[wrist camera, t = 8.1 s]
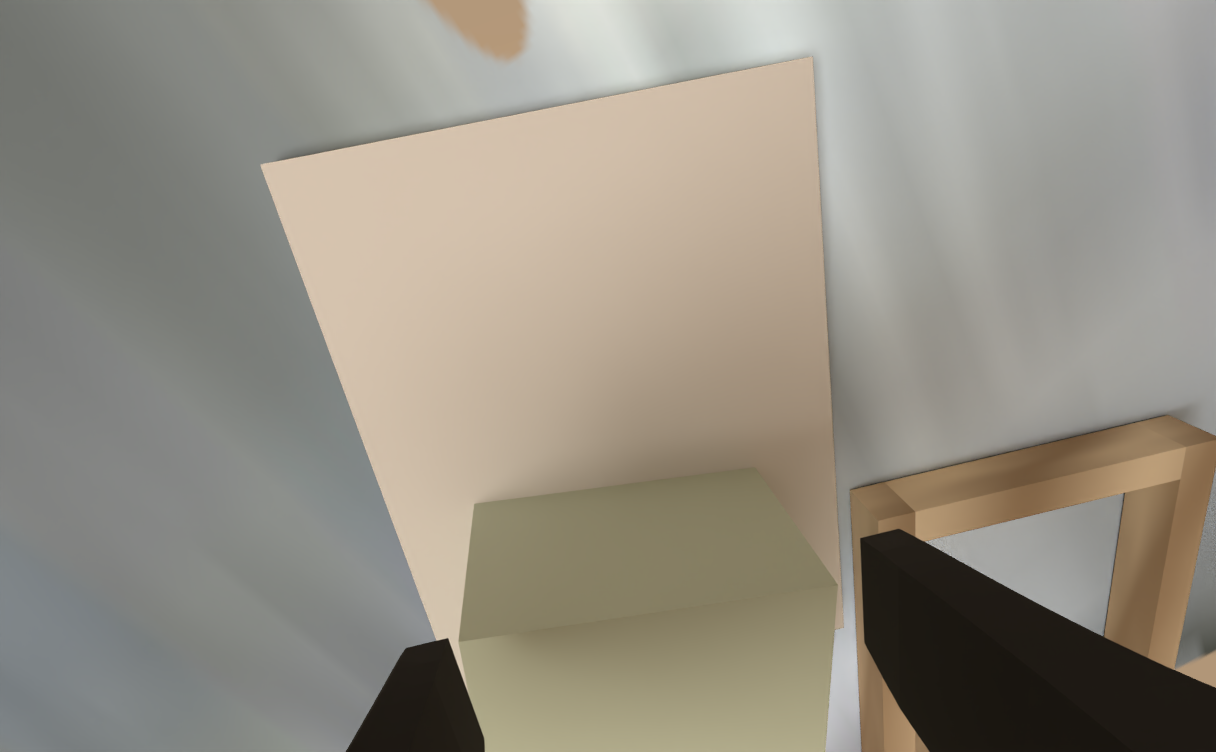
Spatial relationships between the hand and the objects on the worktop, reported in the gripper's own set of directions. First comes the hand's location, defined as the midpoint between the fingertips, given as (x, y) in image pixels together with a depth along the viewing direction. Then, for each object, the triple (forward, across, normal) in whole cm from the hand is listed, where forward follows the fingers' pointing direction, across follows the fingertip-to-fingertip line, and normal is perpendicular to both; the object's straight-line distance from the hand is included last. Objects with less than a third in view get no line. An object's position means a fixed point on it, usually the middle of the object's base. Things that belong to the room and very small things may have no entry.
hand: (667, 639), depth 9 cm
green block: (+4, -3, +4) cm, 7 cm away
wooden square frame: (+7, -11, +9) cm, 16 cm away
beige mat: (+7, 0, 0) cm, 7 cm away
